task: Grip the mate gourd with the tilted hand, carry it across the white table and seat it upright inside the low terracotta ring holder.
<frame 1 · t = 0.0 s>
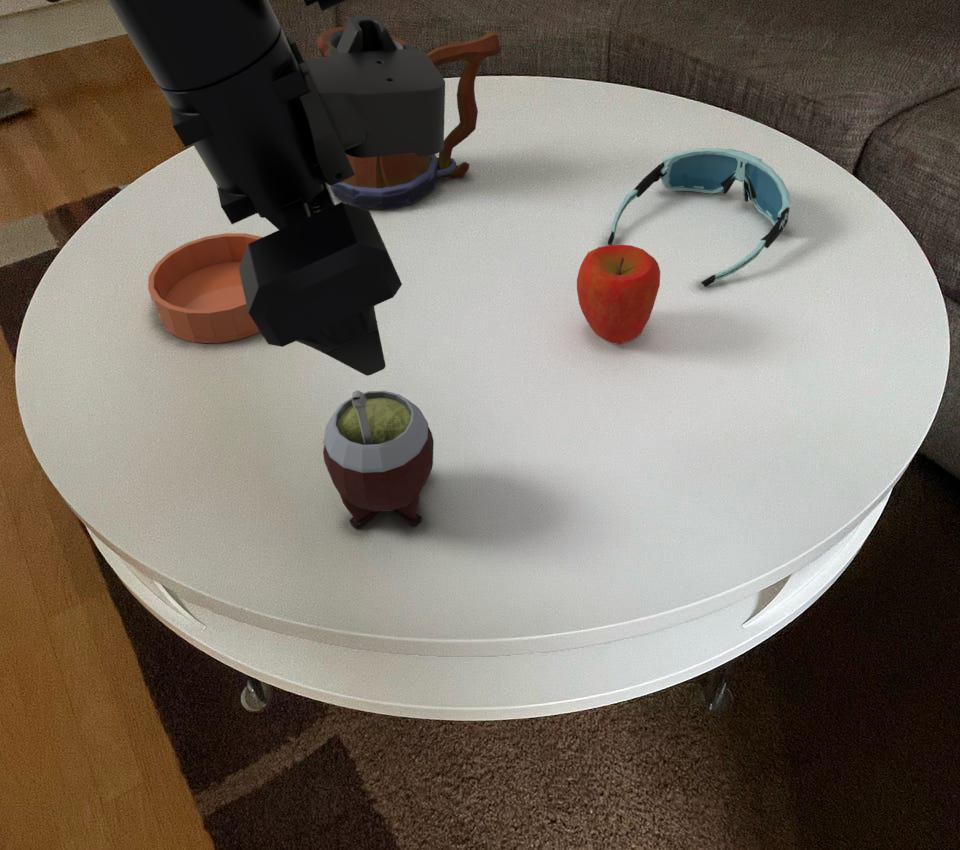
hand: (357, 318, 50), 17 cm above the table, tool pointing down, fingers open, 9 cm apart
apple: (614, 335, 74), on the table
sunglasses: (698, 233, 84), on the table
mug: (416, 182, 93), on the table
mate gourd: (390, 508, 62), on the table
holder: (226, 301, 80), on the table
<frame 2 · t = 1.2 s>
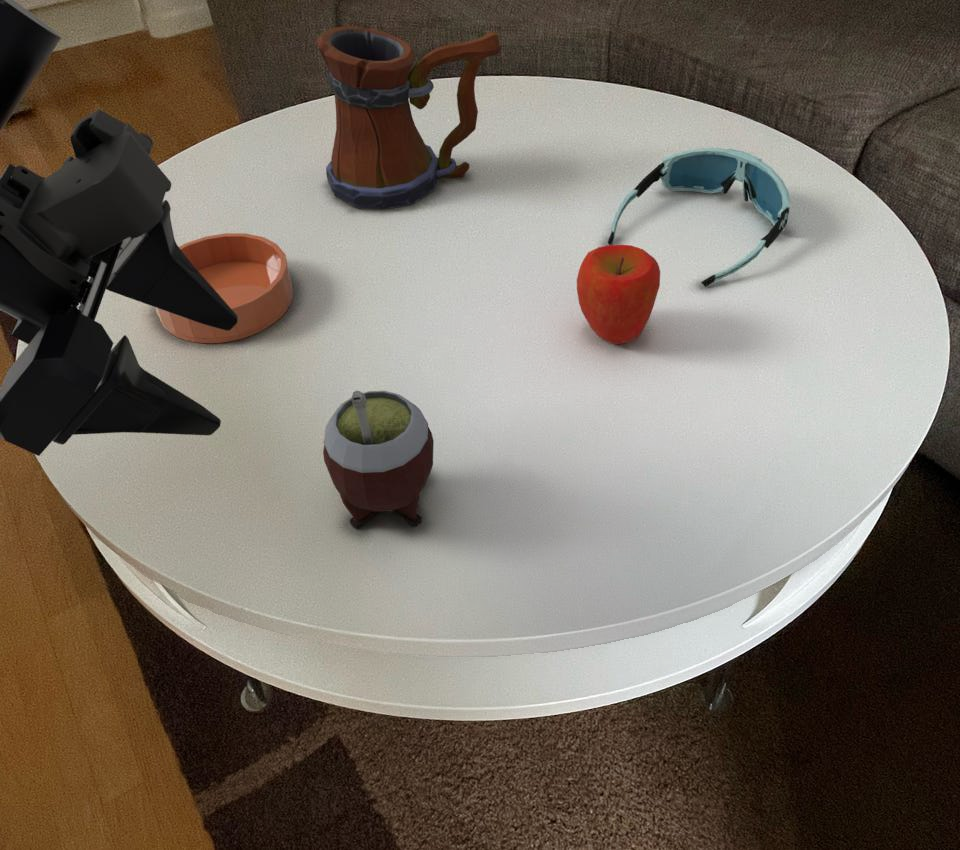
hand: (226, 373, 52), 13 cm above the table, tool tilted 45°, fingers open, 9 cm apart
nothing on the table moved.
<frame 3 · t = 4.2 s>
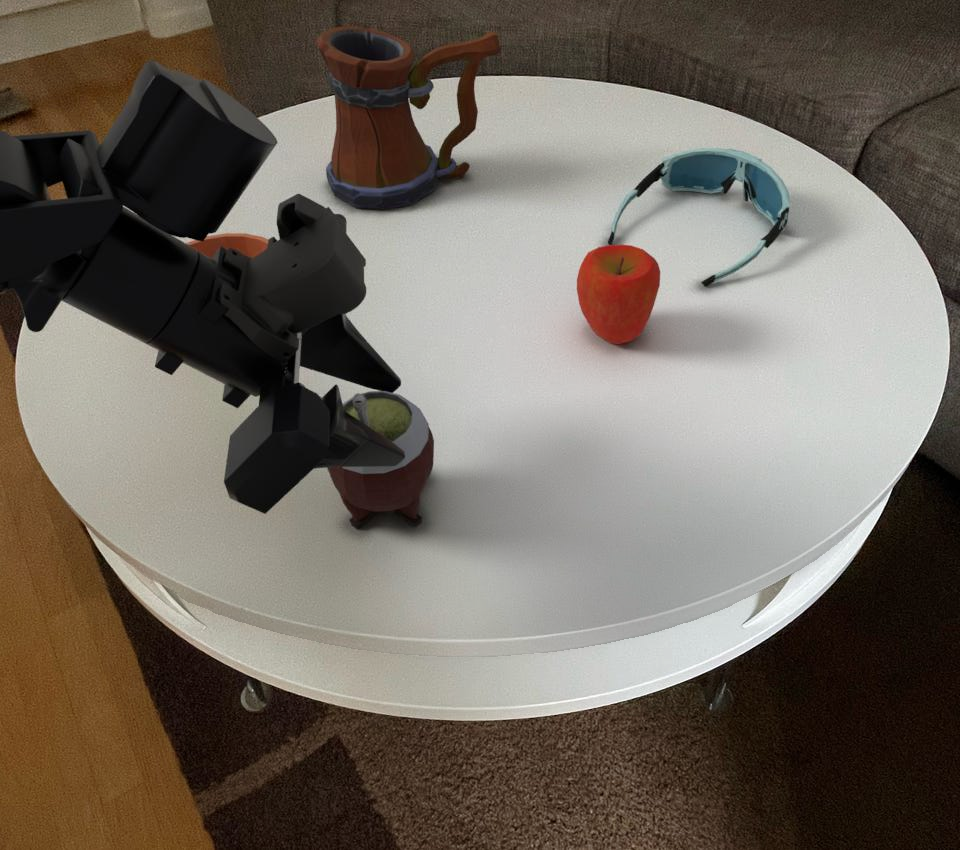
hand: (399, 422, 57), 8 cm above the table, tool tilted 45°, fingers closed on mate gourd, 6 cm apart
mate gourd: (390, 507, 62), on the table, touching gripper
everything else where it was.
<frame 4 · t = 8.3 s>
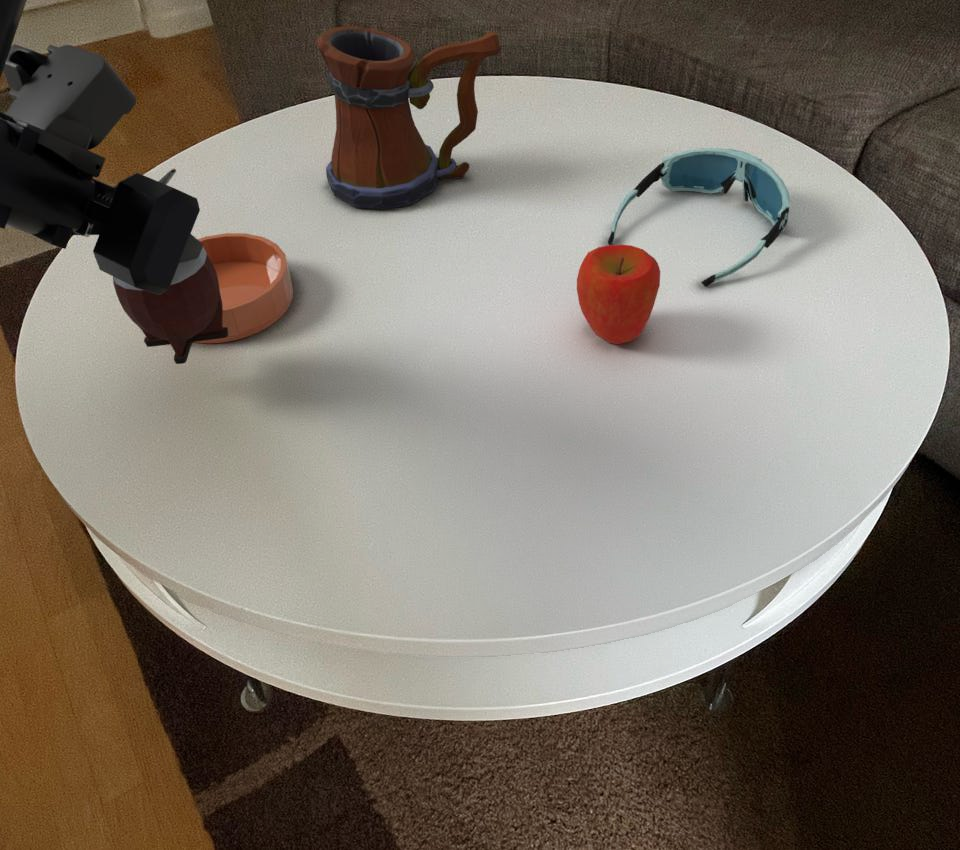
hand: (172, 238, 65), 12 cm above the table, tool tilted 45°, fingers closed on mate gourd, 5 cm apart
mate gourd: (193, 342, 69), point 4 cm above the table, touching gripper
everything else where it was.
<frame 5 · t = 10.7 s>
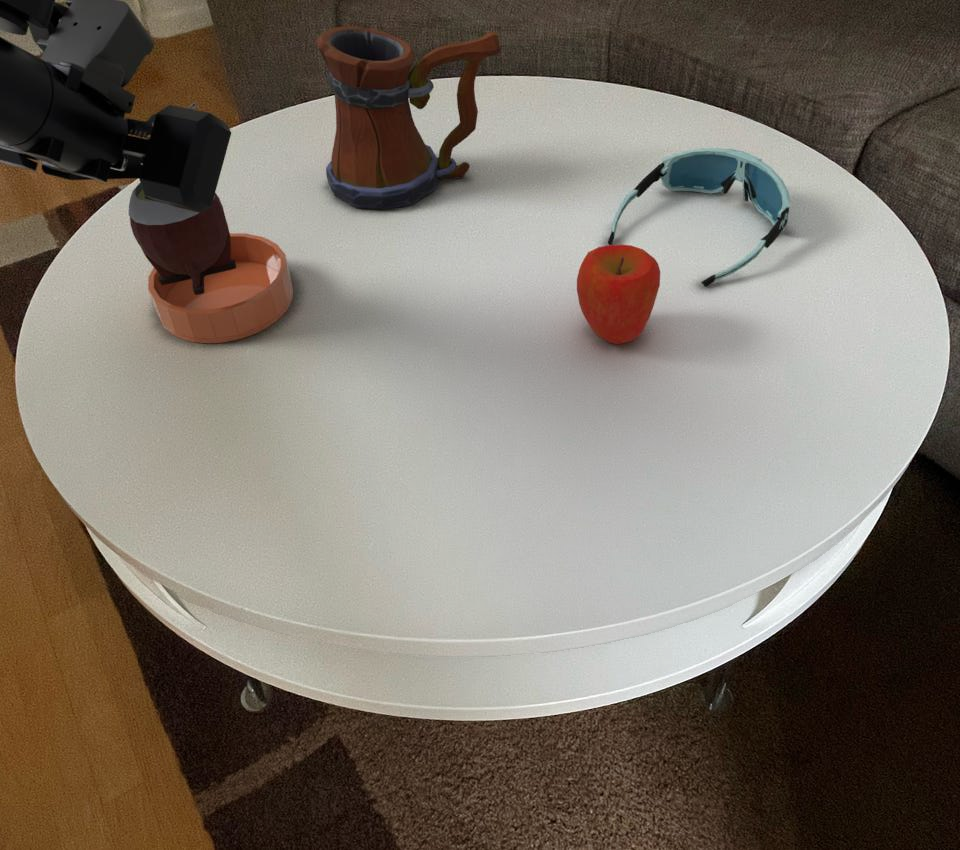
hand: (181, 177, 70), 12 cm above the table, tool tilted 45°, fingers closed on mate gourd, 5 cm apart
mate gourd: (204, 276, 75), point 4 cm above the table, touching gripper
everything else where it was.
when the fingers open (9 cm above the table, at t = 12.6 s): mate gourd stays where it is, resting on holder.
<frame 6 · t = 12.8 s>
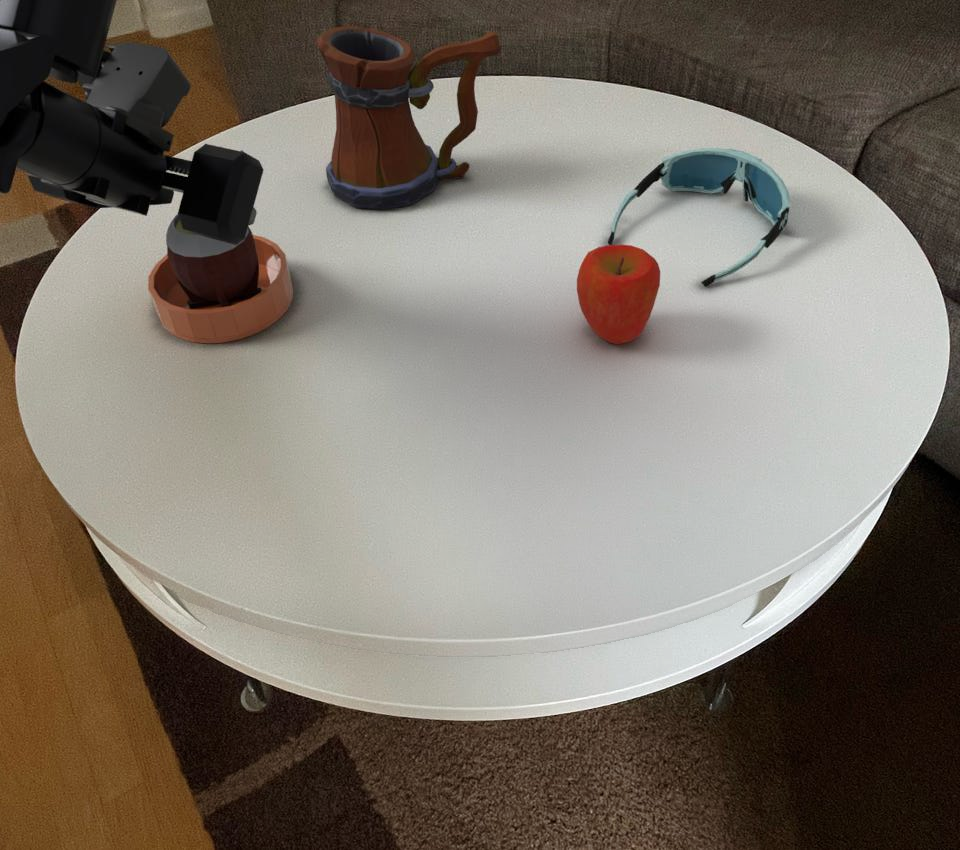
hand: (211, 206, 74), 9 cm above the table, tool tilted 45°, fingers open, 8 cm apart
mate gourd: (231, 302, 79), resting on holder, touching gripper
everything else where it was.
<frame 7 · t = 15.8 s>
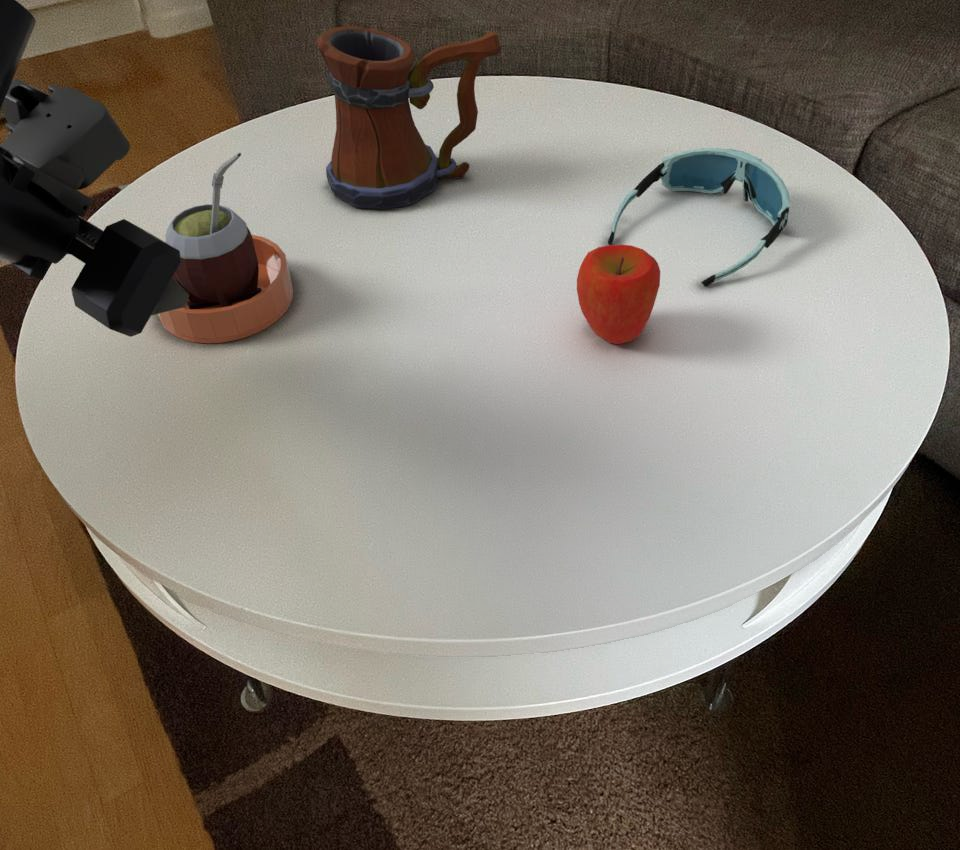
hand: (142, 274, 67), 9 cm above the table, tool tilted 40°, fingers open, 9 cm apart
mate gourd: (231, 303, 79), resting on holder
everything else where it was.
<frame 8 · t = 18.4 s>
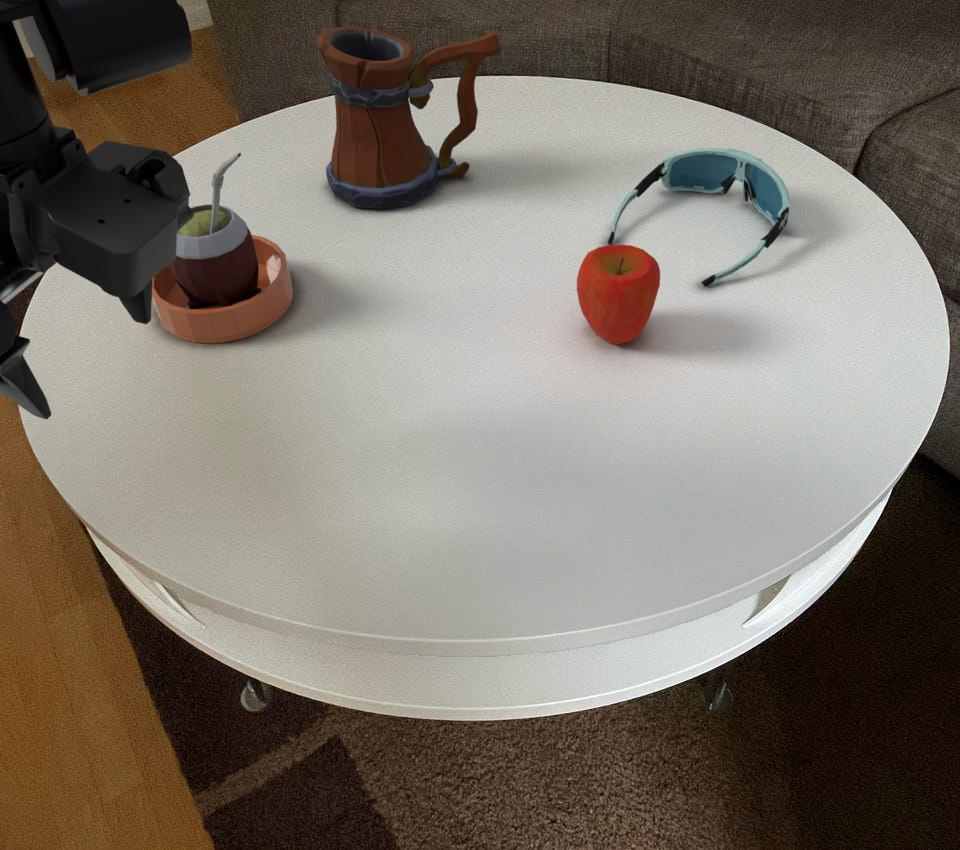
hand: (95, 366, 55), 12 cm above the table, tool pointing down, fingers open, 9 cm apart
nothing on the table moved.
at the end: mate gourd 1.0 cm off-centre in the holder, point 0.3 cm above the holder's base; mate gourd tilted 0°; the gripper is holding nothing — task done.
